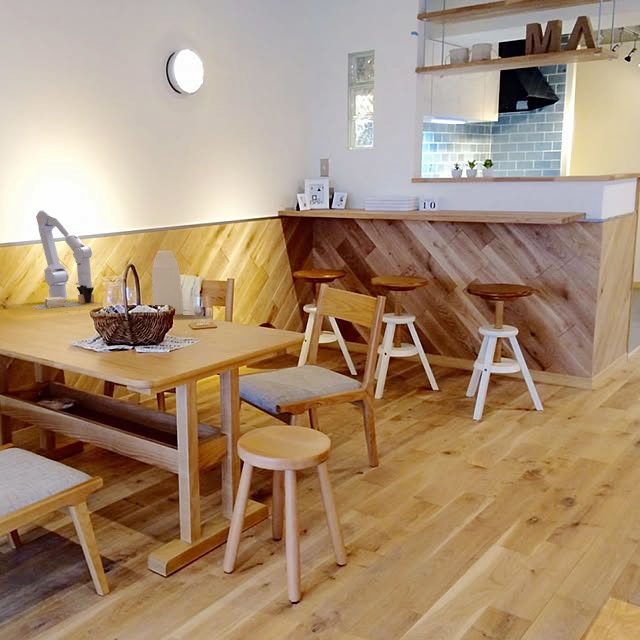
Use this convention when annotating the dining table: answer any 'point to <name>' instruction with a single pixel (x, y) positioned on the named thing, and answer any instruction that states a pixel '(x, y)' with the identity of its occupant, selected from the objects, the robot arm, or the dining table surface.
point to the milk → (167, 281)
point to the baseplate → (57, 307)
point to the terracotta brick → (82, 300)
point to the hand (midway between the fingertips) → (86, 302)
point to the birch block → (54, 302)
